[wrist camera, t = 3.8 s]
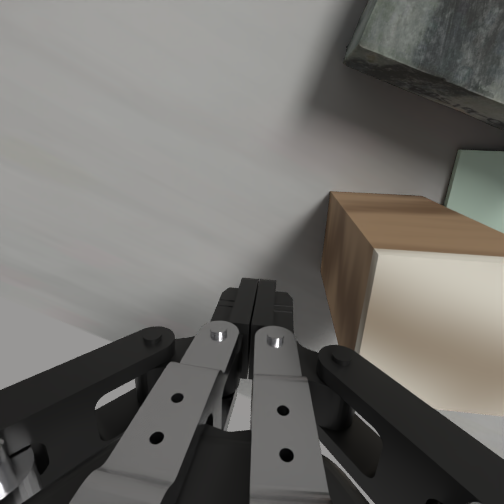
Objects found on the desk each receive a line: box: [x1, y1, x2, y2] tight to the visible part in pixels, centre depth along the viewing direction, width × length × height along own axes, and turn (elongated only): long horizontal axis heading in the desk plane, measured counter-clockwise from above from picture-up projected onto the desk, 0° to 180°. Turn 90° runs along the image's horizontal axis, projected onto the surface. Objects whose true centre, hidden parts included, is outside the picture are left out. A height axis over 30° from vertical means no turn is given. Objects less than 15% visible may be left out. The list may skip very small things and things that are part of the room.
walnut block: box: [320, 191, 504, 416], centre depth 16 cm, size 6×6×12 cm
